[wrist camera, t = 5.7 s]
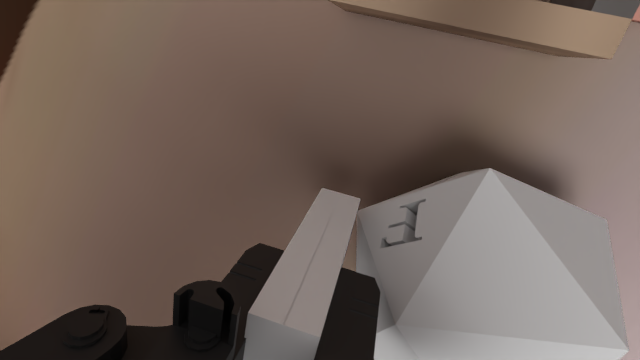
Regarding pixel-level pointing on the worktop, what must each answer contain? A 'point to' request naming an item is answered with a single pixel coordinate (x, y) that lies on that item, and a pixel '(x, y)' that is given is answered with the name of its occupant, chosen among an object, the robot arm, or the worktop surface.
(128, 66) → the worktop surface
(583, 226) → the die
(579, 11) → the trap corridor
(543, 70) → the worktop surface
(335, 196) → the robot arm
